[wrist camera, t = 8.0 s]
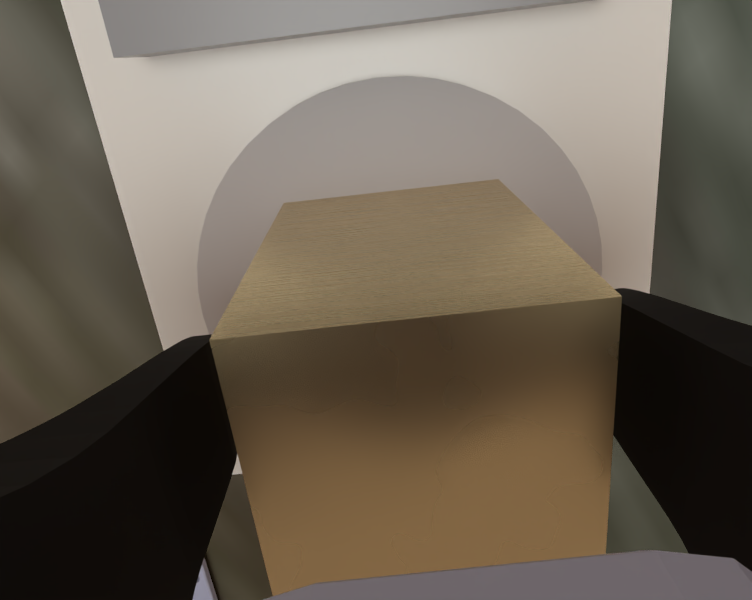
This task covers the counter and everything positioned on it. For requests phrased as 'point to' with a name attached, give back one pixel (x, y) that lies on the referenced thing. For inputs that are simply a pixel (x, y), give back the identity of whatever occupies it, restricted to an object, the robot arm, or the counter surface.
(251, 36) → the kitchen scale
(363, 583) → the robot arm
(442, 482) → the block
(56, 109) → the counter surface
